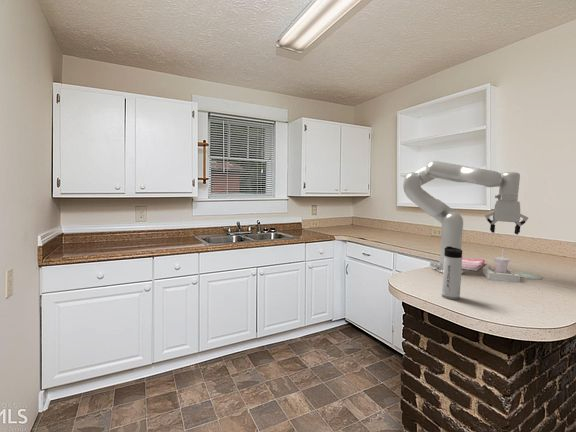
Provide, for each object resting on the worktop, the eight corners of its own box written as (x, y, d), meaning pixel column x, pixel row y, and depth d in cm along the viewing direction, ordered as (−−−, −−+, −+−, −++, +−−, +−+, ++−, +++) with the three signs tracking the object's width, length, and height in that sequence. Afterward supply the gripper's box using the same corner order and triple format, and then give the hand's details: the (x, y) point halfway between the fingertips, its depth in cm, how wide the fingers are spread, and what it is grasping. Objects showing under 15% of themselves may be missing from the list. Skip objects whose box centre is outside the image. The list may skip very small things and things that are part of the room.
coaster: (520, 278, 147) (520, 276, 147) (513, 272, 156) (513, 271, 156) (545, 280, 143) (545, 279, 143) (536, 275, 152) (536, 273, 152)
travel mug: (453, 294, 123) (456, 246, 121) (463, 300, 116) (466, 249, 114) (438, 294, 123) (440, 246, 121) (447, 300, 116) (450, 249, 114)
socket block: (489, 279, 144) (489, 271, 143) (483, 273, 155) (483, 265, 155) (519, 282, 139) (519, 274, 139) (510, 275, 150) (511, 267, 150)
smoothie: (501, 279, 143) (503, 251, 142) (489, 276, 149) (491, 248, 148) (511, 279, 145) (513, 250, 144) (499, 275, 151) (500, 248, 150)
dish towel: (485, 264, 175) (485, 259, 175) (477, 272, 158) (477, 266, 157) (453, 260, 186) (453, 254, 186) (442, 266, 169) (442, 260, 169)
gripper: (488, 197, 143) (485, 232, 145) (533, 199, 137) (528, 235, 138) (485, 197, 150) (481, 230, 152) (526, 198, 144) (523, 233, 145)
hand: (504, 233), depth 145 cm, fingers open, 9 cm apart
